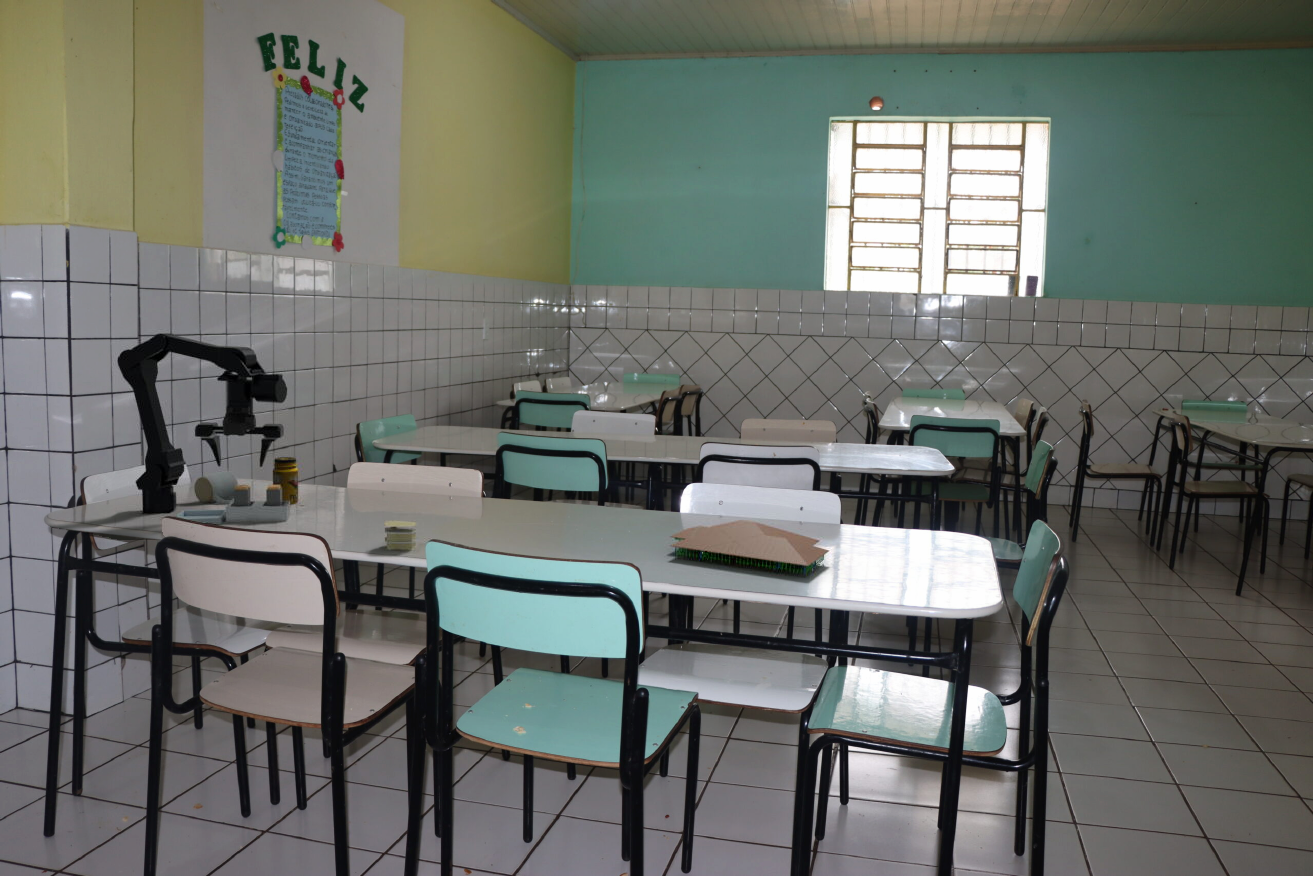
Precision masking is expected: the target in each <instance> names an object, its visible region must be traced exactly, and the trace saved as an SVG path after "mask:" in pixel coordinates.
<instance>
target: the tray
mask: <svg viewBox="0 0 1313 876" xmlns="http://www.w3.org/2000/svg"><path fill="white" fill-rule="evenodd" d="M176 516H177V517H183V518H184V519H188V520H192V521H198V522H205V523H213V524H212V525H218V524H220V525H221V524H222V523H223V522H224V521H225V520H226V509H193V510H192V509H183V510H181V511H180V512H179V513H178V514H177V515H176Z"/></svg>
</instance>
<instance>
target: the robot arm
mask: <svg viewBox="0 0 1313 876" xmlns="http://www.w3.org/2000/svg"><path fill="white" fill-rule="evenodd" d="M169 353H173V354H177V355H181V356H186V357H191V358H195V359H198V360H203V361H206V362H210V363H211V364H214V365H215V366H217V367H218V368H220V369H222V370H224V371H223V373H222V374H221V375H220V376H218V377H216V381H219V382H226V409H225V410H226V411H225V415H224V418H223V420H222V425H219V424H218V422H206V421H205V422H200V423H198V424H196V426H195V427H194V437H195V438H196V437H198V438H199V437H200V439H201V441H204V442H206V443H207V444H208V446H209V447H210V449H211V451H212V453H213V454H212V455H214V456H213V457H214V459H215V462H216V463H217V466H218V467H221V466H222V452H221V451H222V450H221V439H220V436H221V434H222V435H224V436H226V437H229V436H238V437H242V436H245V435H262V437H263V438H261V442H260V443H261V445H260V456H259V467H260V468H262V467H263V465H264V463H265V461H266V457H267V454H268V452H269V450H270V447H271V445H272V443H273V442H276V441H277V440H278V439H281V438H282V437H283V436H284V435H285V433H284V432H285V431H284V429H285V428H284V426H283V424H282V423H265V424H263V426H257V417H256V415H255V414H254V400H255V401H256V402H257V403H273V404H282V403H284V402H285V401H286V399H287V395H288V387H287V385H286V384H287V383H286V381H285V380H284V379H283V376H284V375H283V373H267V372H266V371H265V369H264V367H263V366H262V365H261V363H260V362H259V361H258V360H257V359H258V358H257V354H256V353H255V351H254V350H253V349H252V348H250V347H248V346H232V345H231V346H230V345H229V346H227V345H226V346H225V345H216V344H211V343H208V342H203V341H200V340H195V339H191V338H188V337H183V336H179V335H175V334H173V333H170V332H167V333H166V332H165V333H162V332H161V333H160V332H159V333H156V334H155V335H154V336H153V337H151V338H150V339H148V340H145V341H144V342H141V343H140V344H137V345H135V346H134V347H132V348H130V349H125V350H123V351H121V352H120V354H119V356H118V357H117V360H116V361H117V367H118V369H119V371H120V372H121V376H122V378H123V379H124V381H126V382H127V383H128V385H129V386H130V387H131V389H132V392H133V395H134V398H135V403H136V405H137V411H138V415H139V418H140V423H141V426H142V430H143V434H144V437H145V442H146V447H147V450H146V453H145V458H144V466H145V467H144V469H145V471H144V472H143V473H142V474H141V475H140V476H139V477H138V478H137V479H136V480H135V484H136V487H137V490H139V491H140V490H141V498H142V499H141V500H142V511H141V512H140V515H145V514H146V515H149V514H151V515H154V514H158V515H159V514H161V515H162V514H172V512H175V510H177V507H178V506H177V492H176V491H174V486H177V485H178V482H179V479H180V478H181V477H182V475H183V474H184V472H185V465H186V464H187V463H186V461H185V459H184V456H183V450H182V447H179V448H175V447H174V445H172V443H171V442H170V437H169V433H168V430H167V425H166V421H165V418H164V414H163V411H162V410H163V409H162V406H161V403H160V399H159V393H158V389H157V387H156V382H157V378H158V374H159V367H158V363H159V362H161V361H162V360H163V359H165V358H166V357H167V356H168V355H169ZM234 373H235V374H234ZM219 434H220V435H219Z"/></svg>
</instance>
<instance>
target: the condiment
mask: <svg viewBox="0 0 1313 876" xmlns="http://www.w3.org/2000/svg"><path fill="white" fill-rule="evenodd" d="M273 461H274V464H273V466H274V467H273V469H272V485H280V486H281V487H282V501H290V506H291V505H295V504H298V502H299V469H298V468H297V458H296V457H293V456H292V457H291V456H290V457H289V456H282V457H275V458H274V460H273ZM301 506H305V504H304V503H300V504H299V507H301Z"/></svg>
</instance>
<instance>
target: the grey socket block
mask: <svg viewBox="0 0 1313 876" xmlns="http://www.w3.org/2000/svg"><path fill="white" fill-rule="evenodd" d="M225 510H226V518H225V523H251V522H252V523H257V522H258V523H259V522H262V523H265V522H287V521H289V519H290V517H291V505H290V501H282V506H267V504H266V500H251V506H234V501H231V502H230V503H229V504H226V506H225Z"/></svg>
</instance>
